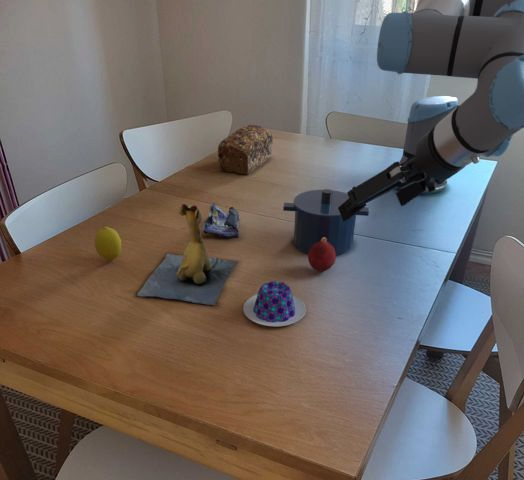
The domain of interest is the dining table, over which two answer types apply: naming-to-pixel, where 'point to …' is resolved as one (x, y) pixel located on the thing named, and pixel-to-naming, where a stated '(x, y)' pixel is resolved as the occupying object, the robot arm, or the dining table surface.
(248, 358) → the dining table surface
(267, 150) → the bread
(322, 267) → the onion
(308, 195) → the pot lid
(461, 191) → the dining table surface
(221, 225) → the snack package
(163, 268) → the stuffed giraffe
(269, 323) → the pudding
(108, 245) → the lemon
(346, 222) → the pot
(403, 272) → the dining table surface
